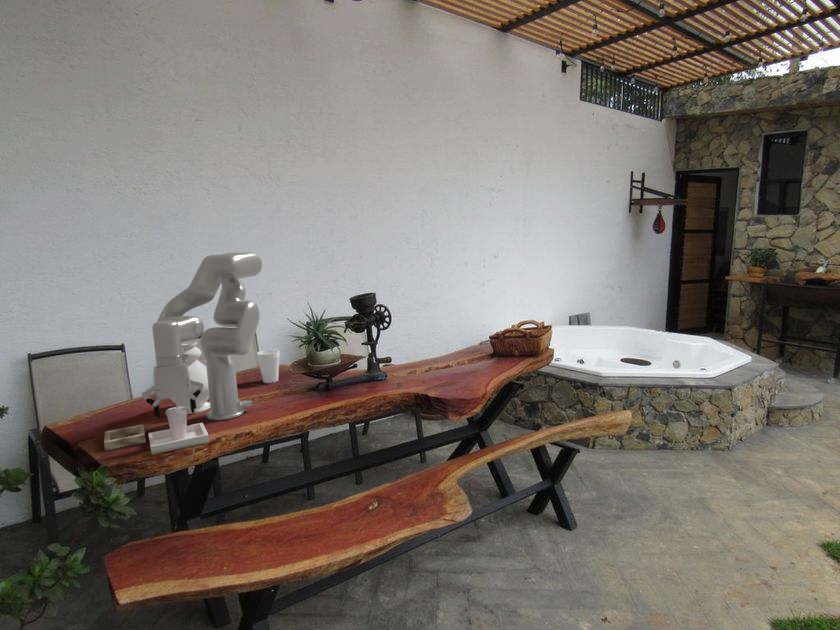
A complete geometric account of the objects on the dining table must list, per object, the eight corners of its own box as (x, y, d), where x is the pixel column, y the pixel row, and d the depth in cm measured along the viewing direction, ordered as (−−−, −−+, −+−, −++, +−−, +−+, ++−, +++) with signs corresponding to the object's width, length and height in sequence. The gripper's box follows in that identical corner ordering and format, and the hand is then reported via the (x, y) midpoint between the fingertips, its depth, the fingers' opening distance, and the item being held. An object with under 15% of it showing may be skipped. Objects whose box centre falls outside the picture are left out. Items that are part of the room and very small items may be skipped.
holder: (144, 431, 174) (143, 424, 173) (145, 442, 164) (144, 434, 164) (105, 439, 168) (104, 431, 168) (105, 450, 159) (104, 442, 159)
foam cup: (277, 376, 237) (275, 348, 235) (284, 381, 229) (282, 352, 227) (256, 380, 231) (254, 352, 229) (263, 385, 224) (261, 355, 222)
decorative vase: (161, 408, 197) (153, 343, 194) (209, 397, 209) (203, 336, 205) (174, 420, 184) (166, 350, 180) (225, 408, 195) (219, 342, 191)
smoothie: (193, 435, 167) (190, 392, 165) (185, 443, 161) (181, 398, 159) (173, 435, 167) (169, 393, 165) (164, 443, 161) (160, 399, 159)
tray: (203, 429, 174) (202, 422, 173) (209, 442, 162) (208, 434, 162) (149, 440, 166) (148, 433, 165) (151, 454, 155) (150, 446, 154)
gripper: (198, 354, 168) (203, 406, 170) (137, 362, 159) (144, 416, 162) (201, 359, 161) (207, 412, 164) (138, 367, 153) (145, 424, 155)
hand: (175, 414), depth 163 cm, fingers open, 9 cm apart
